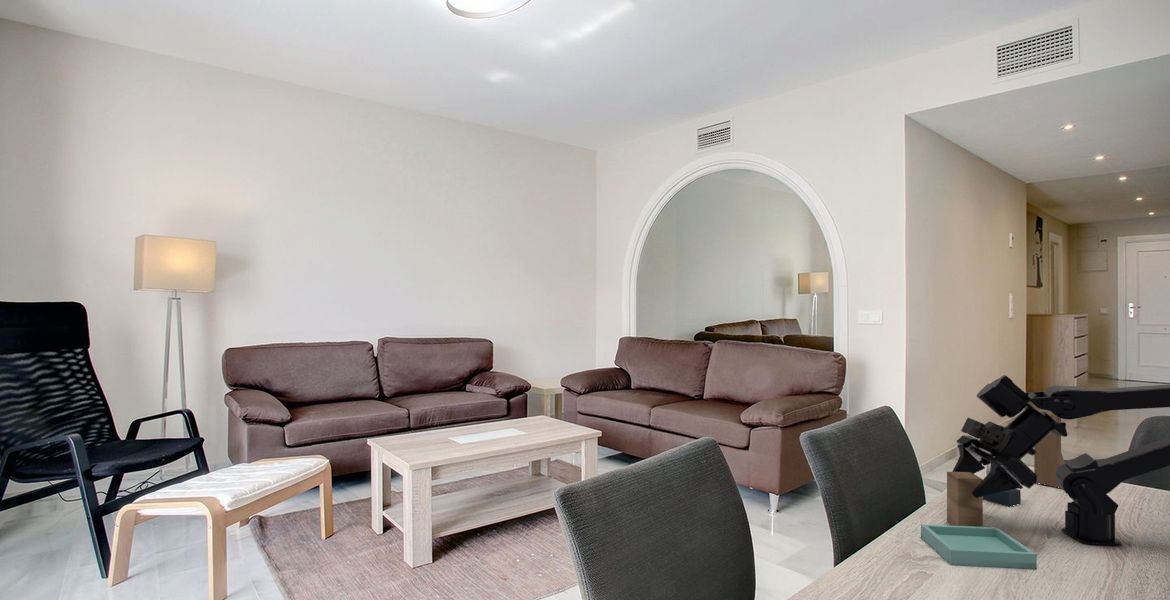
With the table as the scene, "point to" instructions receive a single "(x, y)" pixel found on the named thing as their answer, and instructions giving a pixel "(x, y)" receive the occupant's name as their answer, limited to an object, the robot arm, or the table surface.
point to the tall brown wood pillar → (963, 500)
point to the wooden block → (1048, 456)
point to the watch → (1004, 495)
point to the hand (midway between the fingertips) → (961, 488)
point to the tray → (978, 546)
